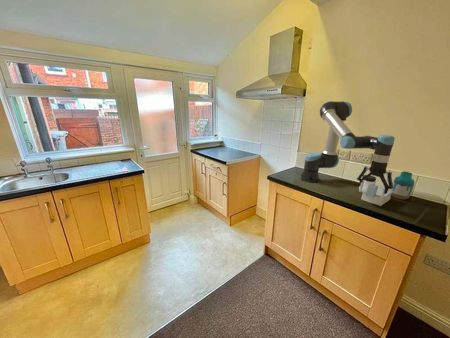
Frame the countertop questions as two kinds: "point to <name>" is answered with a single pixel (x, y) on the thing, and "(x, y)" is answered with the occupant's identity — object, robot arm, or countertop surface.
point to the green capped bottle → (403, 186)
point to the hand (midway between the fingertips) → (370, 194)
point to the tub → (375, 199)
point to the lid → (375, 191)
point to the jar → (368, 181)
